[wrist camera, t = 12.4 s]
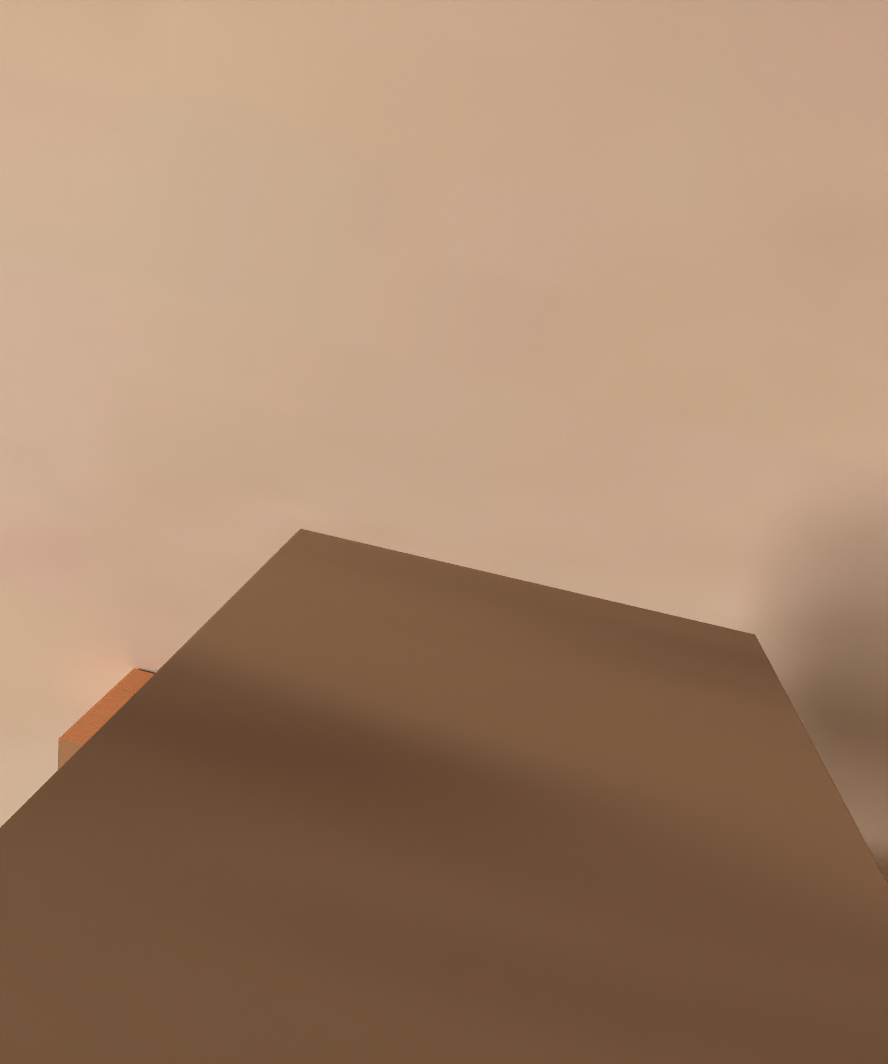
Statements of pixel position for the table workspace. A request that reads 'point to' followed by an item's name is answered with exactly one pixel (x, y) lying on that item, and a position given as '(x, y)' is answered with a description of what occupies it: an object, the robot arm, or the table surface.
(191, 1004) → the walnut block
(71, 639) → the table surface
